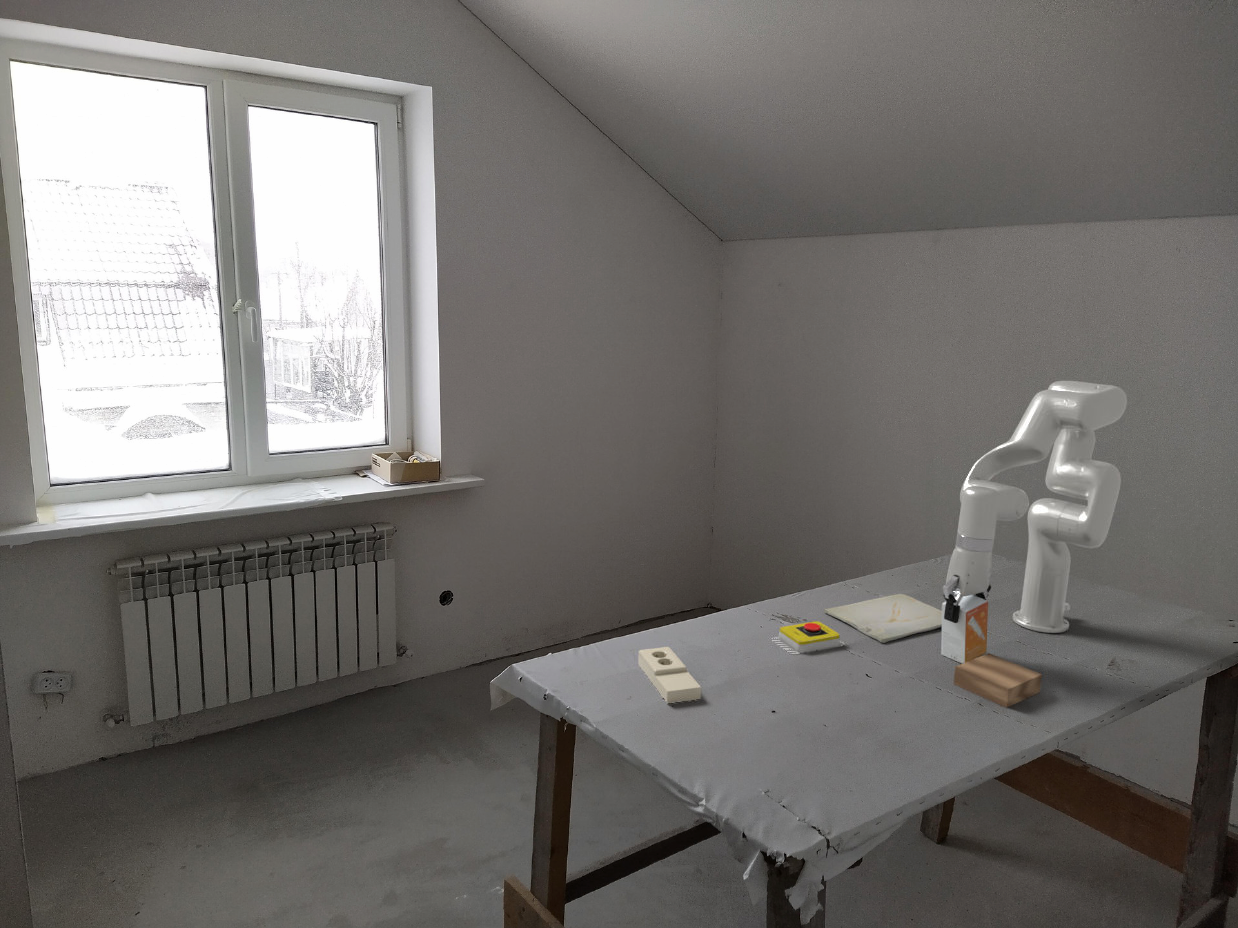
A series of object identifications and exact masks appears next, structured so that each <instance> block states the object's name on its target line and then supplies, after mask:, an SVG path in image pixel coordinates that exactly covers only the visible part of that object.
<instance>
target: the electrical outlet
mask: <svg viewBox="0 0 1238 928" xmlns="http://www.w3.org/2000/svg"><path fill="white" fill-rule="evenodd" d="M637 658H638V664H639V666H640V667H641V669H642V670H643V671H644V672H645V674H646V675H647V676H648V678H649V679H650V681H651V682H652V683H653V685H654V686H655V687H656V688H657V690H658V691H659V693H660V694H661V696H662V697H663V698H664V699H665V701H666V702H667V703H672V702H678V701H688V700H689V701H688V702H692V701H691V700H695V701H697V700H696V699H700V700H701V696H702V694H701V693H702V686H701V685H700V684H699V683H698V682H697V681H696V679H695V678H694V677H693V676H692V675H691V674H690V672H689V671H688V667H687V666H686V665H685V663H683V661H682V660H681V659H680V658H679V657H678V655H677V654H676V653H675V652H674V651H673V650H672V649H671V648H670V647H669V646H663V647H662V646H661V647H655V648H646V649H640V650H638V657H637ZM639 666H638V667H639ZM641 669H640V670H641ZM642 670H641V671H642ZM645 674H644V675H645ZM648 678H647V679H648ZM650 681H649V682H650ZM651 682H650V683H651ZM653 685H652V686H653ZM654 686H653V687H654ZM657 690H656V691H657ZM659 693H658V694H659ZM661 696H660V697H661ZM662 697H661V698H662ZM665 701H664V702H665Z"/></svg>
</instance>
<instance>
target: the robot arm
mask: <svg viewBox="0 0 1238 928" xmlns="http://www.w3.org/2000/svg"><path fill="white" fill-rule="evenodd" d="M1127 404H1128V398H1127V394H1126V392H1125V391H1124V390H1123V388H1121V387H1120V386H1115V385H1111V384H1102V383H1100V384H1099V383H1093V382H1087V381H1086V382H1085V381H1076V380H1058V381H1054V382H1052V383H1051V384H1050V385H1049V386H1048V388H1047V389H1044V390H1041V391H1039V392H1037V393H1036V394H1035V395H1034V397H1032V399H1031V401H1030V402H1029V404H1028V405H1027V408H1026V410H1025V412H1024V413H1023V416H1022V417H1021V419H1020V421H1019V423H1018V425H1016V428H1015V429H1014V432H1013V433H1012V435H1011V437H1010V439H1008V440H1007V441H1006V442H1004V443H1002V444H1000V445H998V446H996V447H994V448H993V449H991V450H989V451H987V452H986V453H985V454H984V455H982V456H981V457H980V458H979V459H977V460H976V462H975V463H974V464H973V465H972V467H971V469H970V470H969V472H968V475H967V476H966V477H965V479H964V481H963V484H962V486H961V489H960V493H959V501H960V509H959V510H960V511H959V512H960V513H959V517H958V524H957V525H958V526H957V531H956V532H957V533H956V540H955V547H954V549H953V551H952V554H951V556H950V561H949V565H948V568H947V569H948V570H947V574H946V578H945V579H946V580H945V584H944V585H942V592H943V598H944V602H946V606H945V613H944V619H945V620H948V621H951V622H953V623H958V619H959V612H960V606H959V603H960V601H961V599H962V598H963V596H969V595H974V596H976V597H979V598H982V599H984V600H987V599H988V598H989V596H990V595H989V592H990V591H991V589H992V585H993V582H994V580H995V577H994V576H993V575H992V574H991V573H992V563H993V562H992V558H993V557H992V556H993V555H992V554H993V549H994V542H995V536H996V529H997V522H998V521H1007V522H1009V521H1011V522H1012V521H1016V520H1018V519H1021V518H1022V517H1023V516H1025V514H1027V528H1028V544H1027V556H1026V562H1025V563H1026V564H1025V571H1024V578H1023V579H1024V581H1023V587H1022V595H1021V596H1022V597H1021V603H1020V610H1015V612H1013V614H1012V620H1013V622H1015V623H1016V624H1017V625H1019V626H1021V627H1023V628H1025V629H1027V630H1030V631H1034V632H1040V633H1046V634H1050V633H1051V634H1060V633H1065V632H1066V631H1068V630H1069V628H1070V623H1069V620H1067V619H1066V618H1065V617H1064V614H1065V612H1067V611H1069V610H1070V609H1071V605H1070V604H1069V603H1068V602H1066V598H1067V590H1068V584H1069V576H1070V569H1071V560H1072V557H1071V553H1070V550H1069V548H1068V545H1067V544H1070V545H1074V546H1078V547H1083V548H1087V549H1096V548H1099V547H1100V546H1101V545H1103V544H1104V542H1105V540H1106V539H1107V537H1108V533H1109V530H1110V527H1111V523H1112V519H1113V516H1114V513H1115V509H1116V506H1117V501H1118V498H1119V494H1120V491H1121V490H1120V489H1121V482H1122V480H1121V479H1122V478H1121V473H1120V471H1119V469H1118V467H1117V466H1115V465H1114V464H1112V463H1109V462H1106V461H1101V460H1095V459H1093V452H1094V448H1095V445H1096V442H1097V441H1096V439H1097V438H1096V435H1095V434H1096V433H1095V431H1096V430H1098V429H1101V428H1104V427H1107V426H1110V425H1111V424H1114V423H1115V422H1118V420H1119V419H1121V417H1122V416H1123V414H1124V413H1125V411H1126V409H1127V406H1128V405H1127ZM1051 449H1052V452H1051ZM1050 452H1051V454H1050ZM1049 454H1050V458H1049V462H1048V466H1047V470H1046V473H1045V482H1044V483H1045V486H1046V487H1047V489H1048V490H1049V491H1050V492H1052V493H1056V494H1059V495H1063V496H1068V497H1071V498H1076V499H1081V500H1085V501H1087V505H1083V504H1080V503H1074V502H1071V501H1066V500H1061V499H1056V498H1051V497H1050V498H1049V497H1048V498H1047V497H1045V498H1043V497H1042V498H1040V499H1037V500H1035V501H1034V502H1032V504H1031V505H1030V500H1029V496H1028V494H1027V492H1025V491H1024V490H1023V489H1021V488H1019V487H1016V486H1012V485H1008V484H1003V483H1001V482H1000V483H999V482H994V481H991V479H993V477H995V476H996V475H998V474H999V473H1001V472H1003V471H1006V470H1009V469H1012V468H1016V467H1021V466H1025V465H1031V464H1036V463H1039V462H1041V461H1044V460H1045V459H1046V458H1047V457H1048V455H1049ZM954 595H956V596H957V597H956V599H955V596H954ZM987 601H988V600H987Z"/></svg>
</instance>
